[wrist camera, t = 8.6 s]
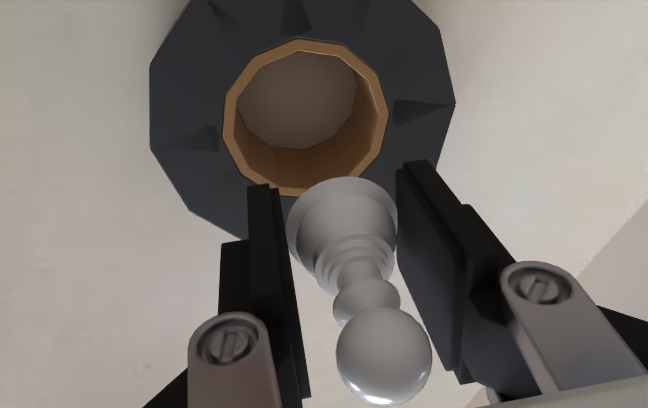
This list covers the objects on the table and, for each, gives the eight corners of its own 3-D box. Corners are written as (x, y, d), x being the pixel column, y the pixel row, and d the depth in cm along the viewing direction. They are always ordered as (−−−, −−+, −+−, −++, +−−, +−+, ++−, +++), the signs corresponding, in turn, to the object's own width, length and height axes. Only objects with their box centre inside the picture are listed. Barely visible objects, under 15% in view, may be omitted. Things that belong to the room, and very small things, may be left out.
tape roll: (112, 118, 20) (89, 156, 17) (269, -123, 17) (277, -132, 14) (314, 239, 25) (325, 287, 22) (468, 69, 22) (509, 96, 18)
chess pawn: (400, 168, 12) (494, 315, 7) (391, 263, 13) (466, 431, 9) (281, 177, 11) (308, 337, 7) (286, 274, 13) (311, 454, 8)
